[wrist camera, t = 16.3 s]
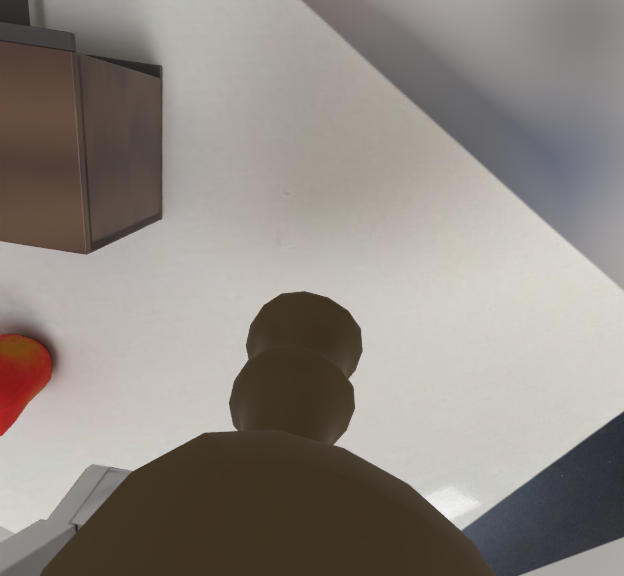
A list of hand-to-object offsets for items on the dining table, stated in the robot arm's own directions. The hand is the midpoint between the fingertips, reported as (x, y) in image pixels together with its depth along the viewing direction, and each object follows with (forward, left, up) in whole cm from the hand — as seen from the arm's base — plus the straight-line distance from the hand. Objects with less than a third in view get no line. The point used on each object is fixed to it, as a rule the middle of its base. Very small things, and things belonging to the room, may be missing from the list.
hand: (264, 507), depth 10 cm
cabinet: (-5, -23, -29) cm, 37 cm away
